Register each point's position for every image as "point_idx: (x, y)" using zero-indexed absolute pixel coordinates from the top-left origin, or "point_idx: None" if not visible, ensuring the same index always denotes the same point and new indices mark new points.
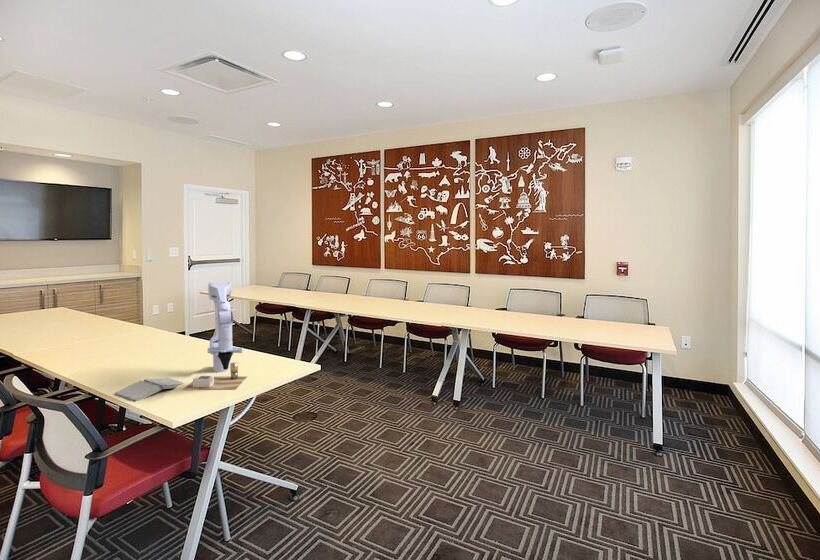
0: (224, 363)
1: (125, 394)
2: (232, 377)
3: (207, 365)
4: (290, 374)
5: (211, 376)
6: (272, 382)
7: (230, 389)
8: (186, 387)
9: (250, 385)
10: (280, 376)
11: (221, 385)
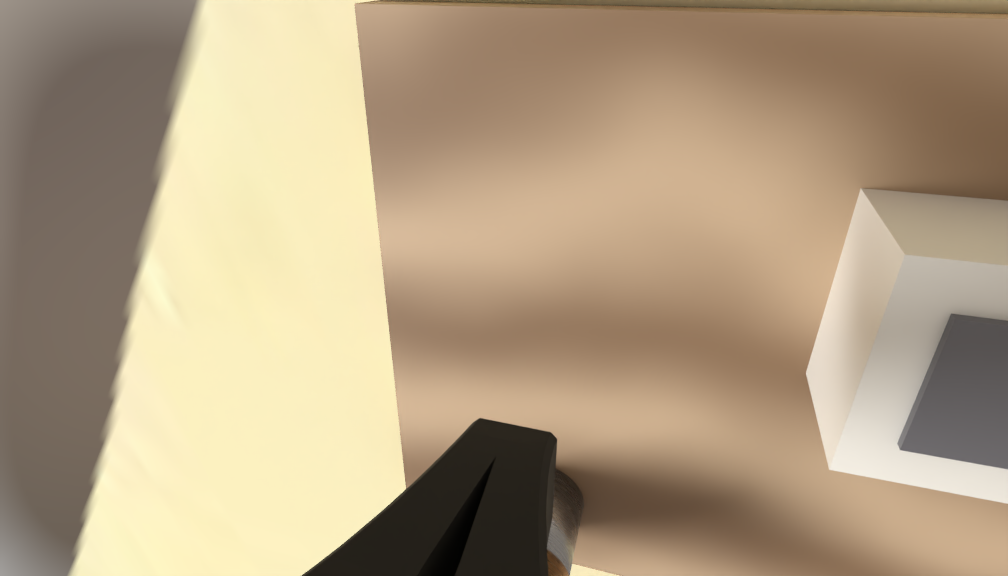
0: (468, 567)
1: None
2: None
3: None
4: (104, 509)
5: (874, 432)
6: (131, 343)
7: (443, 27)
8: None
9: (304, 288)
10: (152, 485)
11: (653, 251)
